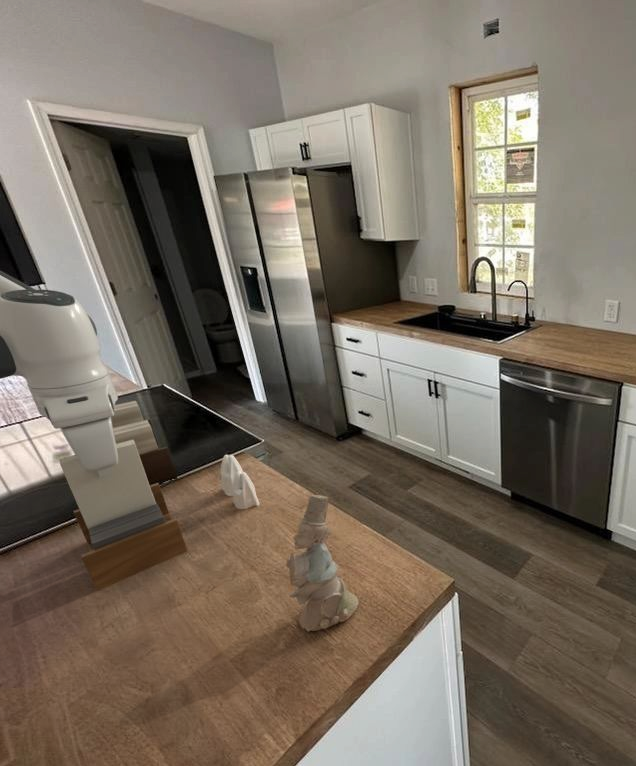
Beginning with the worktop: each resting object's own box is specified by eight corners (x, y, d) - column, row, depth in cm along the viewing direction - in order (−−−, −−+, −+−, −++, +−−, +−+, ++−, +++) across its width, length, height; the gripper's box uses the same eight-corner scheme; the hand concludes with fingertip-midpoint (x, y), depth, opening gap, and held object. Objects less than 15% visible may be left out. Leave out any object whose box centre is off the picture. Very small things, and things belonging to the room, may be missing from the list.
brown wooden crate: (177, 478, 97) (159, 424, 92) (109, 502, 89) (85, 443, 84) (159, 447, 110) (142, 397, 105) (97, 464, 102) (76, 412, 97)
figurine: (345, 580, 71) (329, 483, 64) (365, 612, 65) (349, 510, 58) (289, 609, 66) (264, 506, 58) (306, 647, 60) (281, 539, 52)
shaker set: (222, 494, 92) (210, 452, 88) (243, 486, 95) (232, 444, 91) (241, 519, 85) (228, 473, 81) (263, 509, 88) (252, 465, 84)
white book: (156, 505, 75) (135, 443, 71) (88, 529, 69) (59, 463, 64) (154, 500, 76) (133, 439, 72) (87, 524, 70) (58, 458, 65)
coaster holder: (189, 557, 75) (175, 515, 72) (100, 597, 67) (79, 552, 63) (170, 516, 85) (156, 478, 82) (90, 547, 77) (71, 506, 73)
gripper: (45, 383, 69) (74, 454, 74) (50, 423, 56) (85, 506, 61) (97, 374, 73) (121, 442, 78) (113, 409, 60) (140, 488, 65)
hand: (105, 470), depth 69 cm, fingers closed on white book, 2 cm apart
